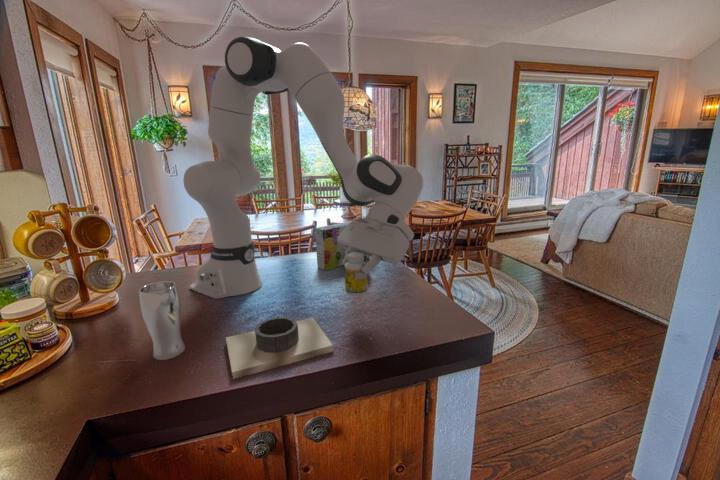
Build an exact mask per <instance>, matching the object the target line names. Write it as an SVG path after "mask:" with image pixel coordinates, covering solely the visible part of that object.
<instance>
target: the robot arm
mask: <svg viewBox="0 0 720 480" xmlns="http://www.w3.org/2000/svg"><path fill="white" fill-rule="evenodd" d="M224 64H225V65H224V66H222V67H221V66H220V68H219V69H218V70H217V71H216V74H215V78H214V79H213V85H212V89H211V95H210V101H209V102H210V104H209V105H210V106H209V113H208V114H209V118H208V129H207V130H208V131H207V134H208V137H209V140H211V142H212V143H214V144H215V147H216V149H217V154H218V159H217V160H209V161H208V160H206V161H202V162H198V163H196V164H193V165H190V166H189V167H188V168H187V169H186V170H185V172H184V175H183V186H184V190H185V191H186V193H187V195H188V196H189V197H190V198H192V199H193V200H195V201H196V202H197V203H198V204H199V205H200V206H201V208H202V209H203V210H204V212H205V214H206V216H207V219H208V221H209V226H210V231H211V237H212V243H213V245H212V246H209V247H207V248H206V249H207V252H210V255H209V258H208V259H207V260H206V261H205V262H204V263H203V264H202V265H200V266H199V267H198V268H197V271H196V281H193V283H191V284H190V285H189V290H191V289H192V290H191V291H193V290H194V292H196V291H197V292H196V293H199V294H201V293H202V295H205V296H207V297H210V298H212V299H216V300H217V299H222V298H227V297H236V296H242V295H245V294H249V293H252V292H254V291H257V290H258V289H260V288H261V287H262V285H263V282H262V280H261V277H260V274H259V272H258V268H257V263H256V259H255V253H256V251H255V244H254V241H253V239H252V230H251V221H250V217H249V216H248V215H247V214H246V212H244V211H242V209H240V206H239V204H238V200H237V197H243V196H247V195H248V194H251V193H252V192H254V191H255V190H256V189H257V188H258V187H259V186H260V183H261V173H260V171H259V170H260V169H258V167H257V165H255V163H254V160H253V155H252V148H251V147H252V146H251V138H252V128H253V118H254V109H255V102H256V99H257V96H258V95H259V94H261V93H262V94H263V95H265V96H266V95H267V96H268V95H274V94H283V93H286V92H290V93H291V95H292V97H293V99H294V100H295V101H296V103H297V104H298V107H299V108H300V109H301V111H302V113H304V115H305V117H306V118H307V120H308V122H309V123H310V125H311V126H312V129H313V131H314V133H315V135H317V138H318V140H319V141H320V143H321V145H322V147H323V149H324V152H326V155H327V157H328V158H329V159H330V162H331V164H332V166H333V167H334V168H335V170H336V173H337V174H338V177H339V179H340V182H341V183H340V184H341V190H342V194H343V195H344V197H345V198H346V200H347V201H348V202H349V203H351V204H352V205H355V206H358V207H365V206H369V205H371V204H372V203H373V202H374V203H373V205H372V206H371V208H370V209H369V211H368V212H367V215H366V216H365V217H364V218H362V217H358V218H355V219H353V220H351V221H352V222H350V223H349V224H348V225H347V226H346V227H345V229H344V230H343V231H342V232H341V234H340V235H339V236H338V238H337V243H338V244H339V245H340V246H341V247H343V248H344V249H346V250H345V258H344V259H343V261H342V264H343V265H344V266H343V267H345V264H346V263H347V262H348V260H347V254H349V253H352V252H360V253H363V254H364V255H366V256H369V257H370V258H369V259H370V260H369V261H368V260H367V263H366V264H364V263H363V265H362V267H361V268H360V271H362V273H365V274H367V275H369V273H370V272H371V270H372V269H373V268H375V267H376V266H379V265H380V262H381V261H382V262H385V263H387V264H391V265H397V264H399V263H400V262H401V261H402V260H403V259H404V257H405V255H406V253H407V251H408V249H409V246H410V241H412V240H413V239H414V237H415V233H414V231H413V230H412V229H411V227H410V226H409V225H408V224H407V222H406V219H407V218H406V217H407V215H408V213H409V212H411V211H412V210H413V208H414V206H415V205H416V203H417V201H418V199H419V197H420V195H421V192H422V191H423V187H424V179H423V176H422V174H421V173H420V172H419V170H418V169H417V168H415V167H413V166H412V165H410V164H399V163H394V162H391V161H389V160H387V159H386V158H385V157H383V156H381V155H378V154H367V155H365V156H363V157H361V159H360V160H359V161H358V159H357V158H356V156H355V155H354V152H353V150H352V149H351V147H350V145H349V143H348V142H347V140H346V136H345V132H344V116H345V115H344V114H345V105H346V101H345V96H344V94H343V91H342V89H341V86H340V85H339V83H338V82H337V81H338V80H337V79H336V77H335V76H334V75H333V73H332V72H331V70H330V69H329V67H328V66H327V65H326V63H325V62H324V61H323V60H322V58H321V56H319V55H318V54H317V52H315V50H314V49H313V48H312V47H311V45H308V44H306V43H304V42H296V43H292V44H291V45H288V46H287V47H286V48H285V49H283V50H281V49H279V48H278V47H276V46H274V45H272V44H270V43H266V42H264V41H261V40H259V39H257V38H255V37H250V36H238V37H235V38H234V39H232V40H231V41H230V42H229V44H227V47H226V49H225V52H224Z"/></svg>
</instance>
